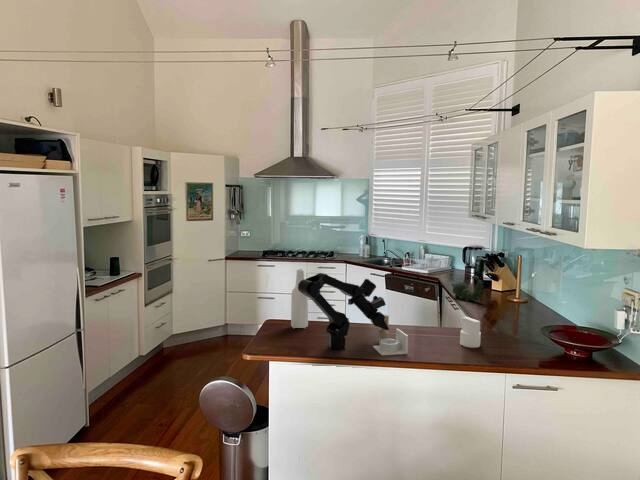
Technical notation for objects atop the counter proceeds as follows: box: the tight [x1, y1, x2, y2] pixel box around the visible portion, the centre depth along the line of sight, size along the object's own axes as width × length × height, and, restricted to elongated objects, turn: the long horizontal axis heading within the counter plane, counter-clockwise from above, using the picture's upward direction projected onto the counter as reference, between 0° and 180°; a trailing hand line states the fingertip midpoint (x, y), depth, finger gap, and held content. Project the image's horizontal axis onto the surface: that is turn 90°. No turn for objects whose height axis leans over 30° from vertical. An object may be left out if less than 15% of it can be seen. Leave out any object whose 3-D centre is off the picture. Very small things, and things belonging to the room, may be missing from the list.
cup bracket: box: [372, 328, 409, 356], centre depth 200 cm, size 12×11×8 cm
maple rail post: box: [378, 314, 390, 343], centre depth 212 cm, size 4×4×12 cm
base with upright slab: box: [459, 316, 482, 349], centre depth 210 cm, size 9×9×12 cm
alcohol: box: [290, 268, 309, 329], centre depth 233 cm, size 9×9×30 cm
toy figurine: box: [450, 275, 485, 302], centre depth 304 cm, size 9×19×25 cm
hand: (385, 326), depth 212 cm, fingers open, 9 cm apart
